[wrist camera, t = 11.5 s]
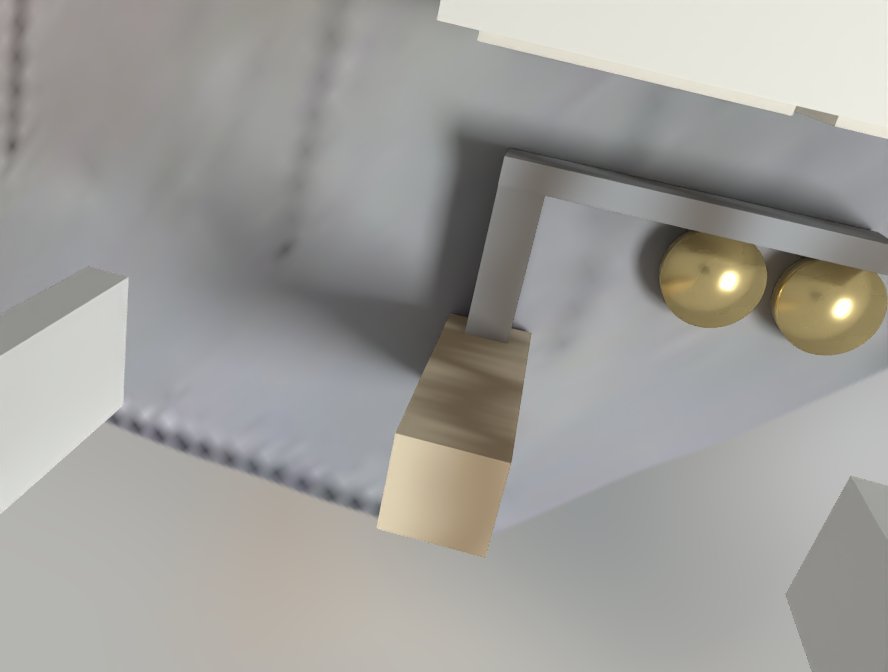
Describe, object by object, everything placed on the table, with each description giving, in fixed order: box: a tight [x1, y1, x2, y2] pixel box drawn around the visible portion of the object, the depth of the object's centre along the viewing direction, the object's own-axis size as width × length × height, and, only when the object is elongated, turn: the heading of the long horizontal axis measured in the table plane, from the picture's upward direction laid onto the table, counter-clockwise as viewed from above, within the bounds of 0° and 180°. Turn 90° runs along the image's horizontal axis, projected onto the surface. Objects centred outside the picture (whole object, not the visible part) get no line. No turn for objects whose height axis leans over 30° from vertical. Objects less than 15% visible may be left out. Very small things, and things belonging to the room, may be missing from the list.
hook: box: [377, 148, 888, 558], centre depth 30 cm, size 17×12×12 cm
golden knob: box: [659, 230, 767, 328], centre depth 34 cm, size 4×4×1 cm
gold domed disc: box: [771, 257, 887, 355], centre depth 33 cm, size 4×4×1 cm
